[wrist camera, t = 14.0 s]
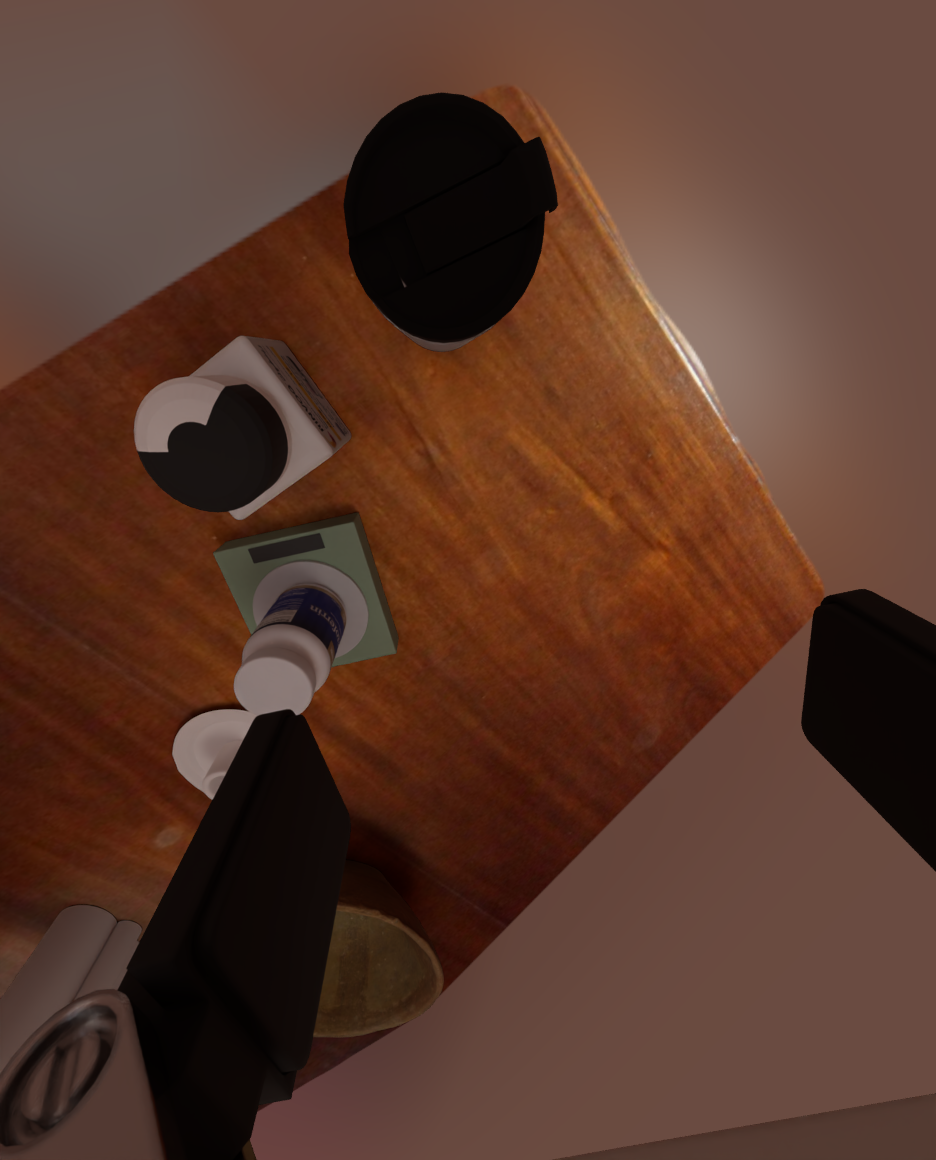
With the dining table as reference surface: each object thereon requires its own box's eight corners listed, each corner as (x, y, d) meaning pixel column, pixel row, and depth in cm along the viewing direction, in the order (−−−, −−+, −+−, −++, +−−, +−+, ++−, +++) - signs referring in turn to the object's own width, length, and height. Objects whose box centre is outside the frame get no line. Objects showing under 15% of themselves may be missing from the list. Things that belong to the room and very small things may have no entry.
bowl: (440, 809, 52) (440, 903, 43) (444, 935, 62) (445, 1034, 53) (234, 819, 51) (191, 918, 42) (271, 946, 61) (241, 1049, 51)
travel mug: (504, 327, 33) (585, 286, 15) (417, 366, 34) (394, 373, 16) (470, 224, 31) (518, 25, 12) (377, 269, 31) (293, 144, 13)
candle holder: (156, 764, 47) (130, 801, 43) (211, 683, 44) (188, 715, 40) (267, 812, 51) (253, 850, 47) (326, 741, 47) (316, 775, 43)
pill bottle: (360, 630, 39) (337, 711, 30) (297, 653, 40) (255, 739, 31) (326, 570, 37) (290, 638, 28) (260, 595, 37) (203, 670, 28)
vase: (45, 922, 56) (-143, 1190, 38) (83, 895, 55) (-94, 1161, 36) (128, 962, 60) (-5, 1221, 42) (166, 938, 59) (44, 1197, 41)
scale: (225, 541, 38) (209, 554, 36) (358, 511, 38) (352, 523, 35) (280, 663, 43) (270, 682, 41) (399, 638, 43) (396, 656, 40)
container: (354, 436, 36) (313, 473, 24) (274, 493, 37) (198, 555, 25) (282, 338, 33) (195, 325, 21) (199, 404, 34) (73, 427, 22)
